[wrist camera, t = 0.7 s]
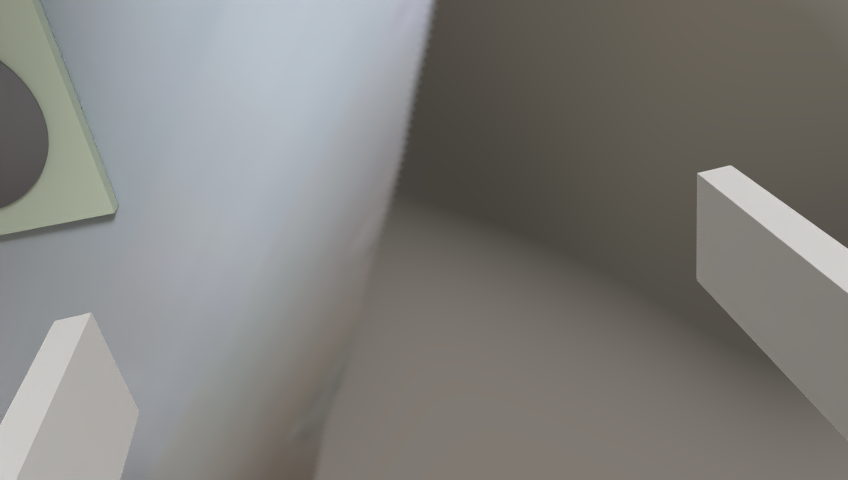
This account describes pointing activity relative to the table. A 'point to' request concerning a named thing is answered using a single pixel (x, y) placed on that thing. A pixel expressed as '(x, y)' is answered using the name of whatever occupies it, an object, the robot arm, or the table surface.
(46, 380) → the robot arm
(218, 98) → the table surface
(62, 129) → the peg stand
